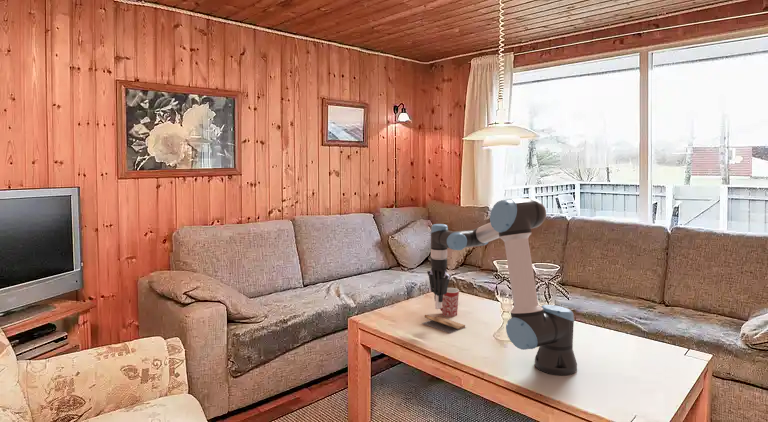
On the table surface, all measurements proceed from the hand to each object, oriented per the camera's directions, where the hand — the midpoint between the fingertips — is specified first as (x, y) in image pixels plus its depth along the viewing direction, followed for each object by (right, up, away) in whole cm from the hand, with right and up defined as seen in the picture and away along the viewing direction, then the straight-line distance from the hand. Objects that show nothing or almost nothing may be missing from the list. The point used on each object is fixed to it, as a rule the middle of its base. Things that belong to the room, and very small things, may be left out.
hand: (438, 308), depth 230 cm
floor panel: (+3, -10, +3) cm, 10 cm away
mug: (+6, -8, +20) cm, 23 cm away
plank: (+1, -7, +2) cm, 8 cm away
